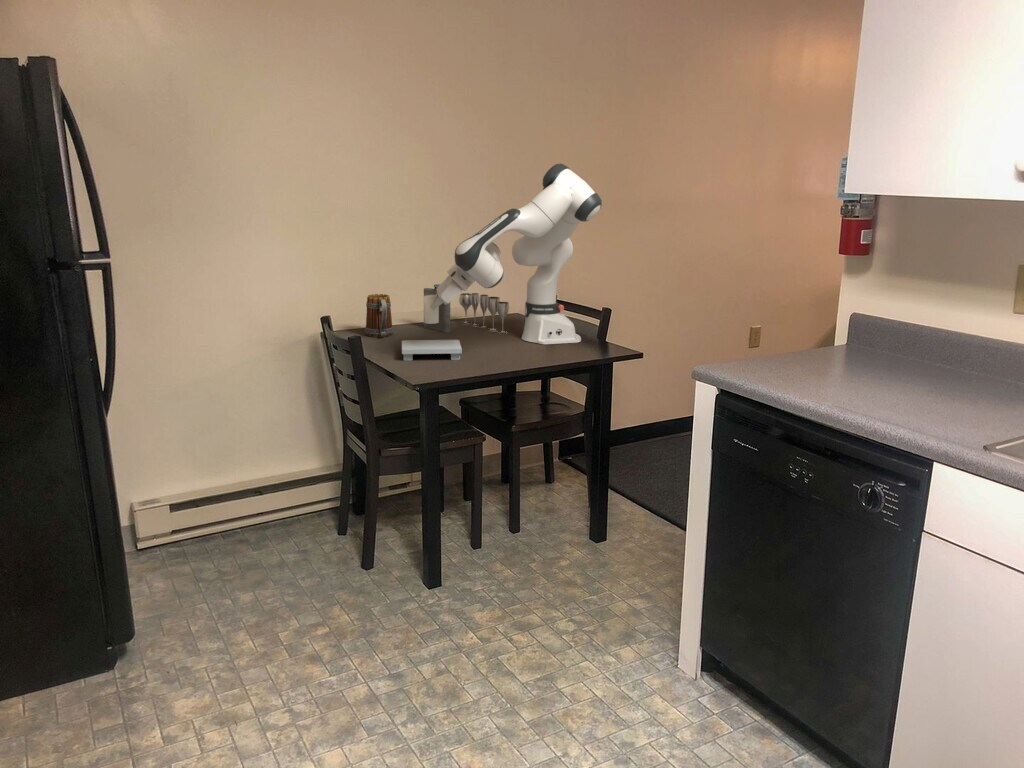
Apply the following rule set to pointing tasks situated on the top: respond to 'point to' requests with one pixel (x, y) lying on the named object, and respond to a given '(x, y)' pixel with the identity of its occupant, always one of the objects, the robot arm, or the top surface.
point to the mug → (378, 316)
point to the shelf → (431, 348)
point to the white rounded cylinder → (430, 310)
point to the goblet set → (484, 305)
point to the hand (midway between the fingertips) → (431, 306)
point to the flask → (443, 313)
